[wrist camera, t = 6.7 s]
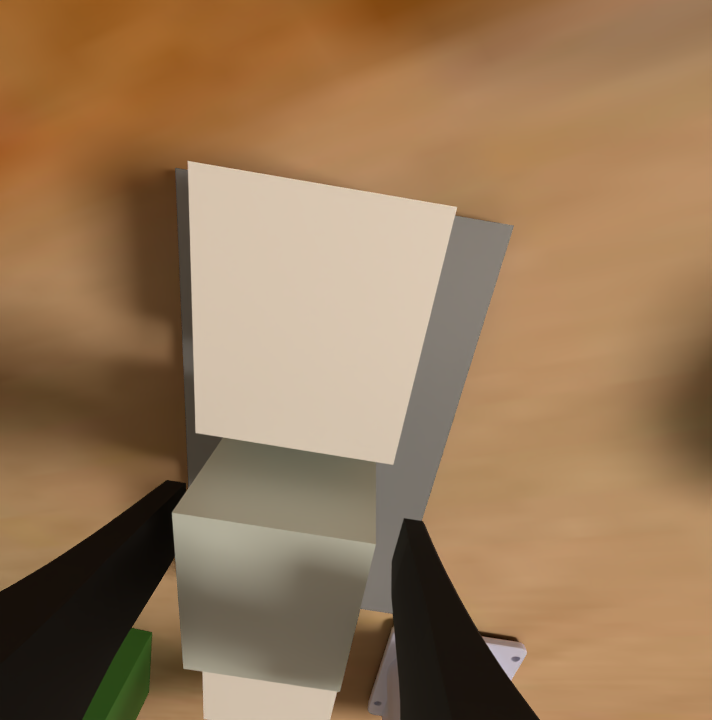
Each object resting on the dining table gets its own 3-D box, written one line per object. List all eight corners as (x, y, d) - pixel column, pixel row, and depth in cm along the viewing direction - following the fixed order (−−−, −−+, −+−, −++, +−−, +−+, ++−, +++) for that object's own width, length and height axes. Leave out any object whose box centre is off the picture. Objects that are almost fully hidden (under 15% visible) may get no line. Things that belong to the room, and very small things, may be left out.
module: (352, 521, 16) (339, 692, 10) (248, 505, 15) (178, 667, 10) (375, 405, 13) (376, 544, 8) (253, 386, 13) (165, 511, 8)
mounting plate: (391, 595, 20) (398, 748, 14) (200, 565, 20) (130, 707, 14) (503, 224, 12) (616, 234, 6) (190, 171, 12) (23, 132, 6)
